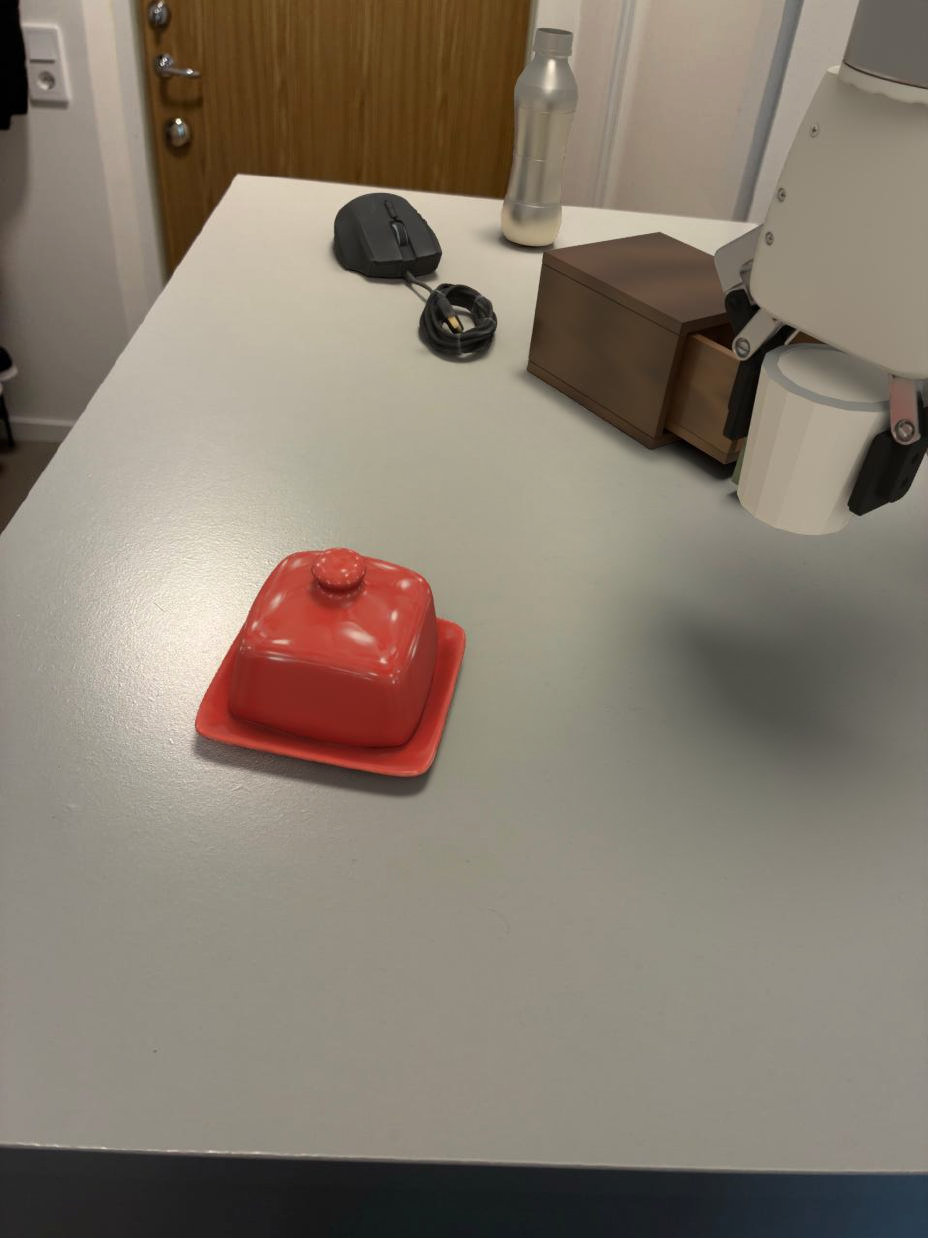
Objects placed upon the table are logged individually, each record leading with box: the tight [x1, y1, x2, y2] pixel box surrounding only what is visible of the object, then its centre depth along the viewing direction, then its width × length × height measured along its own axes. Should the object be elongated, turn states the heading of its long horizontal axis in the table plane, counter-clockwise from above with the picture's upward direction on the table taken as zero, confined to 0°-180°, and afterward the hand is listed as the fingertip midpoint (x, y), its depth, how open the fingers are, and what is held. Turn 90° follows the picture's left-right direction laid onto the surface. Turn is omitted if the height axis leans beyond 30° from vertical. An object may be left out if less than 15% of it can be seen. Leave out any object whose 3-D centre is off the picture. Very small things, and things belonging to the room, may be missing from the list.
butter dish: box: [194, 547, 467, 778], centre depth 45 cm, size 12×12×8 cm
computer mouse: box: [333, 192, 498, 355], centre depth 89 cm, size 10×32×6 cm, turn 24°
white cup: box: [736, 343, 891, 536], centre depth 45 cm, size 7×7×7 cm
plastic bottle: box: [500, 27, 580, 247], centre depth 98 cm, size 6×7×20 cm
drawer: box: [664, 322, 828, 486], centre depth 69 cm, size 18×12×8 cm, turn 36°
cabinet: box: [526, 231, 730, 450], centre depth 75 cm, size 15×13×10 cm
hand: (806, 464), depth 46 cm, fingers closed on white cup, 6 cm apart
